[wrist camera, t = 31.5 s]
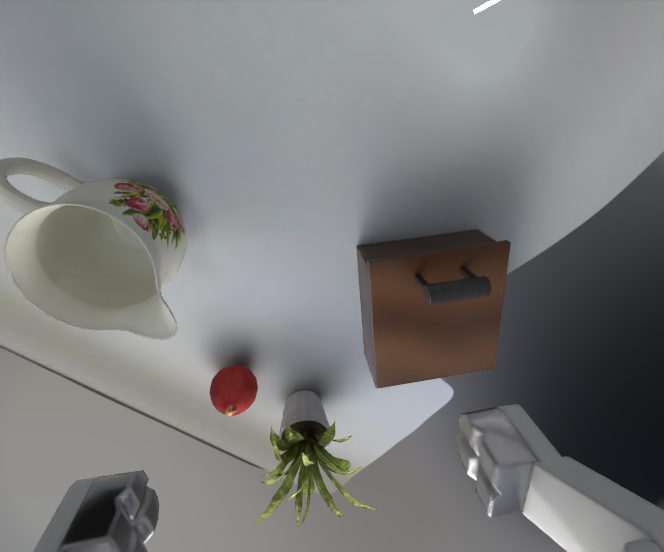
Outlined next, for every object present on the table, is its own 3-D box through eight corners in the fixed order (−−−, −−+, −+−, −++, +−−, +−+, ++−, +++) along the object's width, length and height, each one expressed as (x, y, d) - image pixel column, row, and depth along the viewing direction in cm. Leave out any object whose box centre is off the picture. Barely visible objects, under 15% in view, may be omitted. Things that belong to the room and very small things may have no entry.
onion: (253, 389, 50) (248, 436, 43) (211, 382, 49) (199, 430, 42) (263, 356, 48) (260, 400, 41) (220, 348, 47) (208, 392, 39)
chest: (356, 246, 43) (367, 266, 37) (477, 229, 44) (505, 246, 38) (364, 353, 50) (374, 384, 44) (468, 336, 51) (491, 364, 45)
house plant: (370, 369, 51) (405, 474, 37) (346, 437, 57) (369, 553, 42) (271, 358, 48) (266, 468, 34) (256, 432, 54) (246, 553, 39)
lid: (366, 259, 37) (380, 284, 32) (506, 239, 38) (542, 260, 33) (374, 384, 44) (386, 421, 39) (491, 364, 45) (518, 398, 40)
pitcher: (86, 108, 33) (-29, 109, 21) (237, 235, 40) (217, 292, 28) (23, 191, 36) (-113, 236, 23) (176, 298, 43) (133, 375, 30)
